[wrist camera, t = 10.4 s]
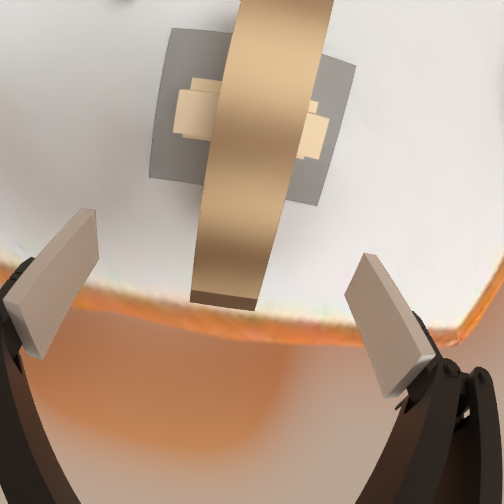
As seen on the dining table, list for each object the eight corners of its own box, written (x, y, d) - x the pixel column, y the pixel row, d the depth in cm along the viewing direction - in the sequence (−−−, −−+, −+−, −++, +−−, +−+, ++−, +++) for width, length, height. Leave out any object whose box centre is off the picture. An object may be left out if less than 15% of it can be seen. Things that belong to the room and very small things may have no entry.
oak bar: (252, -15, 13) (256, -53, 7) (313, -2, 13) (340, -32, 8) (200, 250, 23) (189, 302, 18) (251, 258, 23) (254, 311, 18)
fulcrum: (174, 30, 19) (151, 12, 13) (352, 66, 21) (386, 62, 15) (151, 174, 26) (126, 201, 20) (314, 202, 28) (334, 236, 22)
